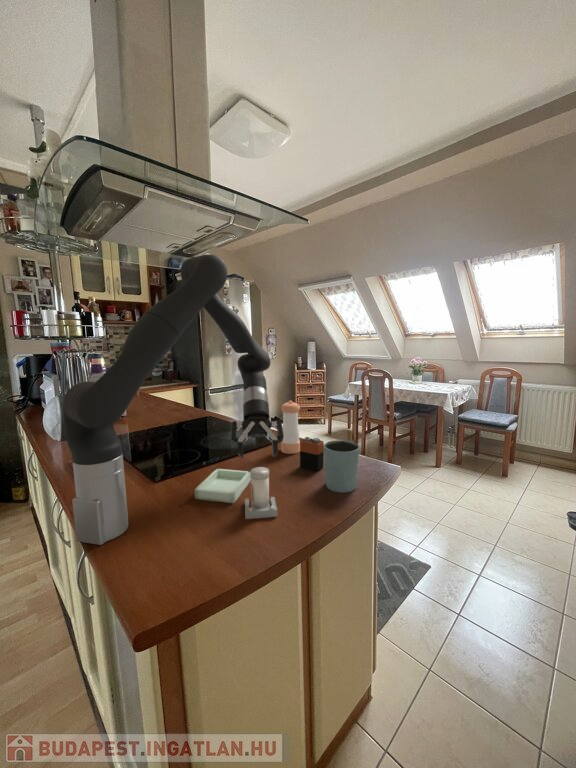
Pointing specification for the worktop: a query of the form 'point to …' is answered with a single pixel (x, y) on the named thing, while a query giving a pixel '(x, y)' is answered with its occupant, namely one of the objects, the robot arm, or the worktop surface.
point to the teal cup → (341, 465)
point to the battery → (311, 453)
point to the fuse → (260, 488)
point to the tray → (223, 485)
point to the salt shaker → (290, 428)
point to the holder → (260, 511)
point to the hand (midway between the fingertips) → (258, 456)
